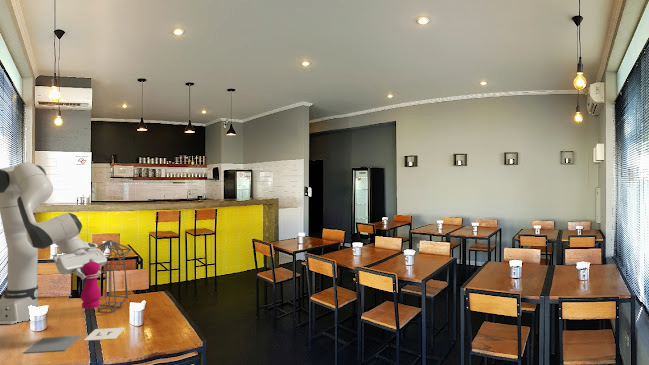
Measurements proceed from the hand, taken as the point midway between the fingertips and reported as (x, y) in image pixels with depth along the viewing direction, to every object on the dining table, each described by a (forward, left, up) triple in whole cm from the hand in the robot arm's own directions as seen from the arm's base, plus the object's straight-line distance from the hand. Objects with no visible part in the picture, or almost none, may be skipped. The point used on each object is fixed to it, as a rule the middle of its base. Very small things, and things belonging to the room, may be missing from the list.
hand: (91, 276), depth 163 cm
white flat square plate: (+4, +2, -25) cm, 25 cm away
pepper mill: (0, 0, -13) cm, 13 cm away
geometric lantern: (-5, +34, -25) cm, 42 cm away
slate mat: (-12, -6, -25) cm, 28 cm away
